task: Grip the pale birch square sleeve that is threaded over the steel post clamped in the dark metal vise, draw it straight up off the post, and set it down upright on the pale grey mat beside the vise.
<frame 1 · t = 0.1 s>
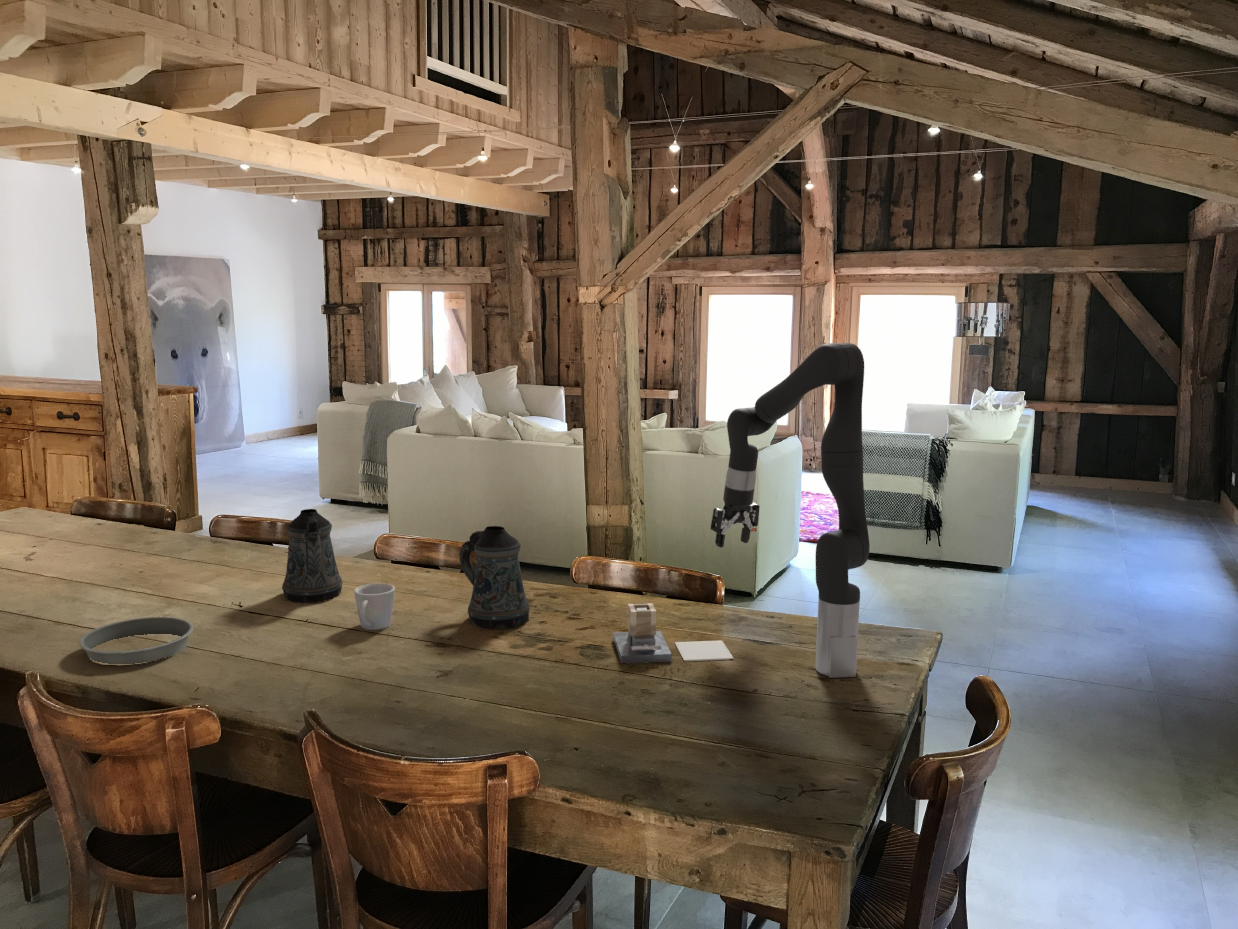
hand: (732, 544, 243), 22 cm above the table, tool pointing down, fingers open, 8 cm apart
mat: (703, 651, 229), on the table
sleeve: (641, 631, 228), point 5 cm above the table, touching vise
mug: (372, 629, 244), on the table
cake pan: (138, 651, 227), on the table
beer stein: (493, 620, 251), on the table
vise: (641, 650, 229), on the table
beer stein 2: (315, 596, 270), on the table
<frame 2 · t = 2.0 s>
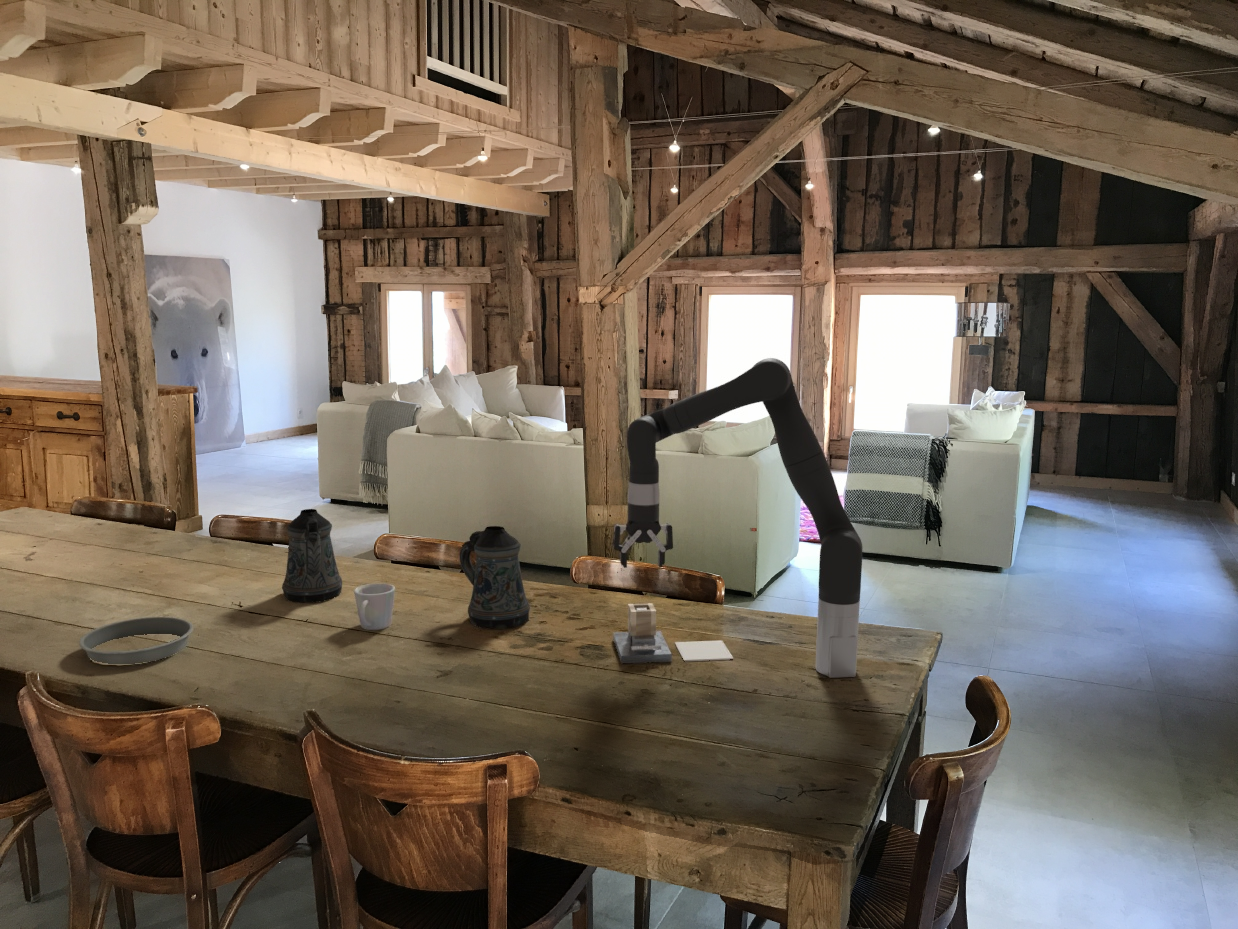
hand: (642, 566, 226), 21 cm above the table, tool pointing down, fingers open, 8 cm apart
nothing on the table moved.
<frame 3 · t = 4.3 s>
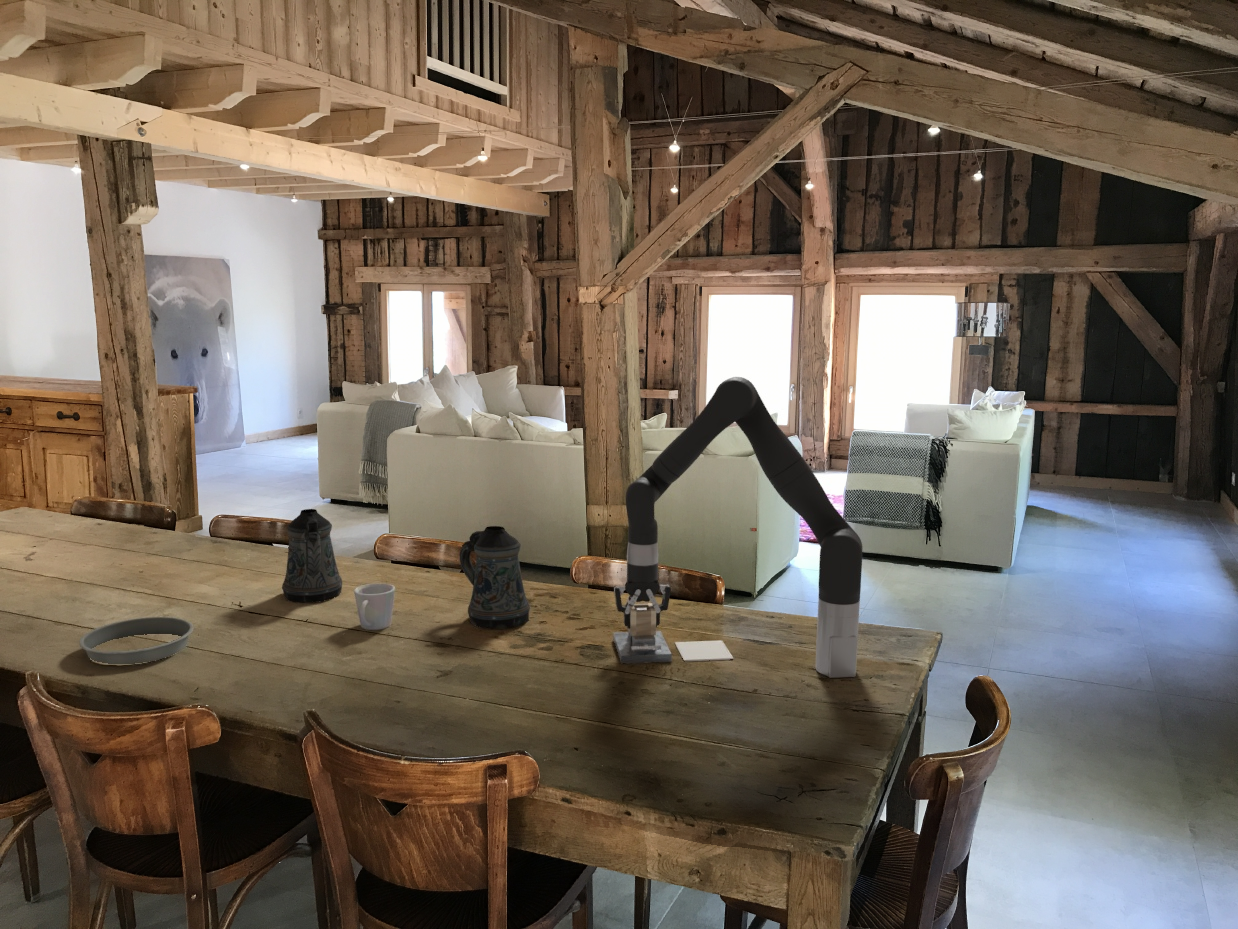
hand: (641, 626, 228), 6 cm above the table, tool pointing down, fingers closed on sleeve, 6 cm apart
sleeve: (641, 631, 228), point 5 cm above the table, touching gripper, vise
everything else where it was.
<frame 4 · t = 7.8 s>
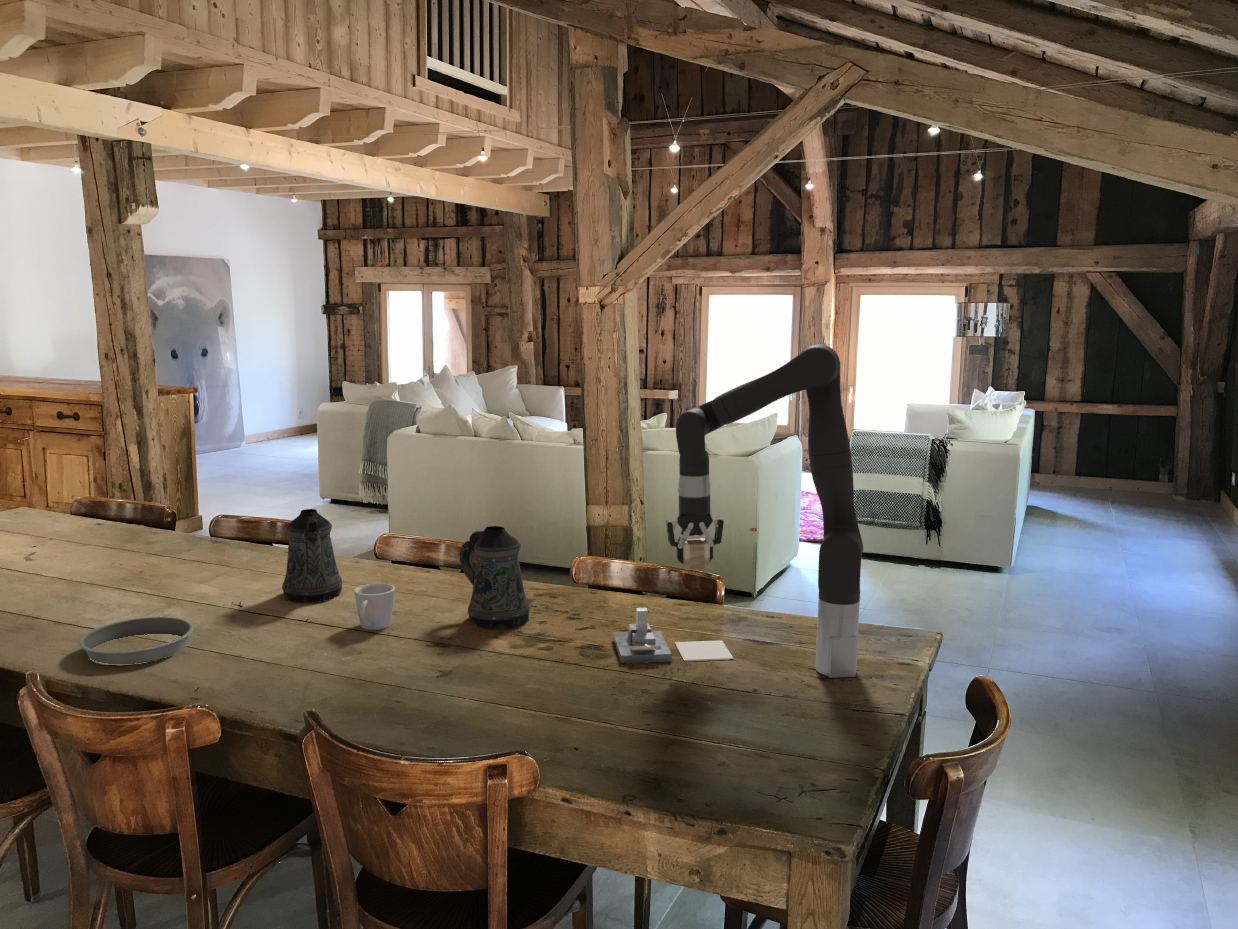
hand: (694, 561, 225), 23 cm above the table, tool pointing down, fingers closed on sleeve, 6 cm apart
sleeve: (694, 566, 225), point 22 cm above the table, touching gripper
everything else where it was.
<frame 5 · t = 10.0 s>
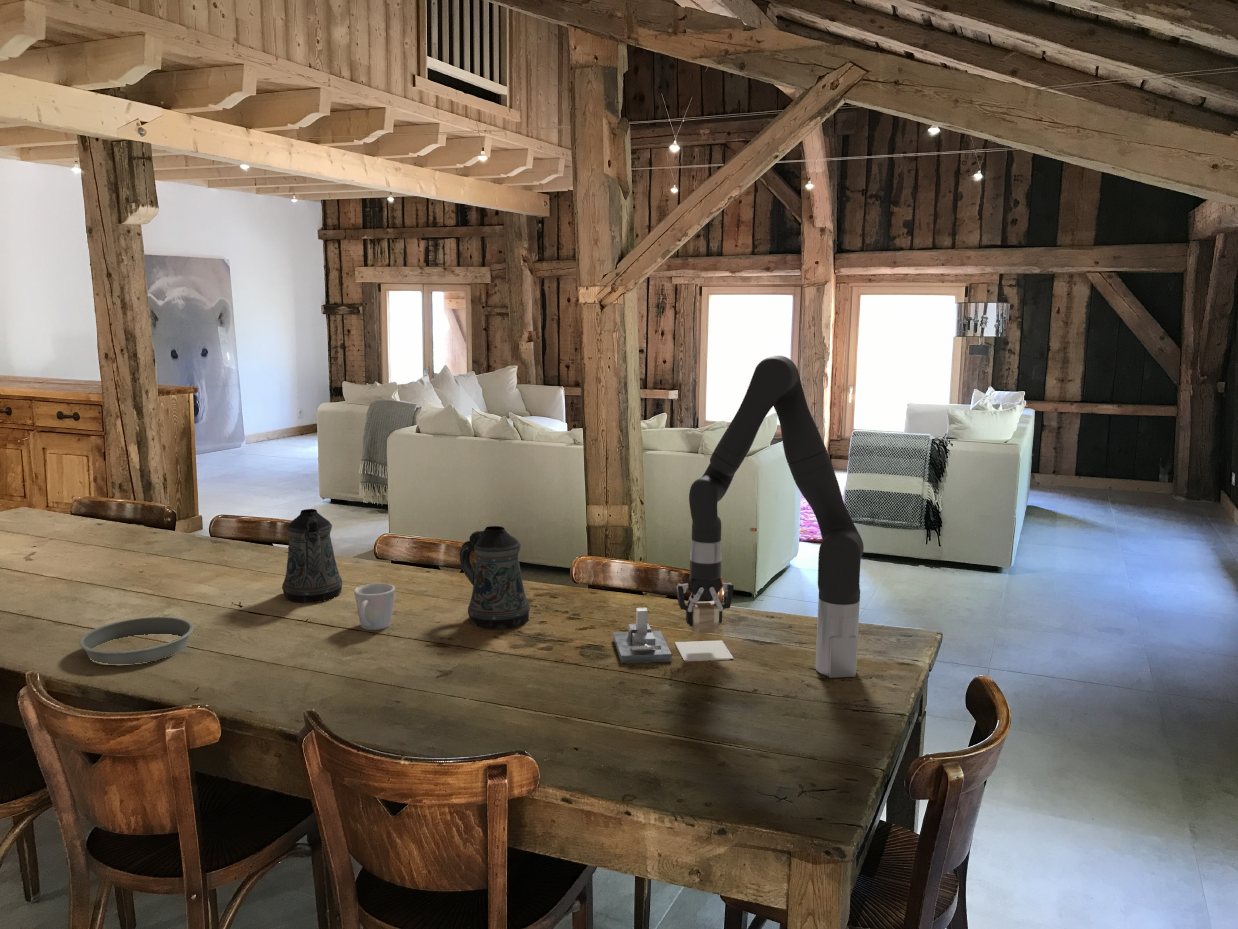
hand: (703, 624, 228), 7 cm above the table, tool pointing down, fingers closed on sleeve, 6 cm apart
sleeve: (703, 629, 228), point 6 cm above the table, touching gripper
everything else where it was.
when the fingers open (3 cm above the table, at t = 11.6 s): sleeve drops 2 cm, resting on mat.
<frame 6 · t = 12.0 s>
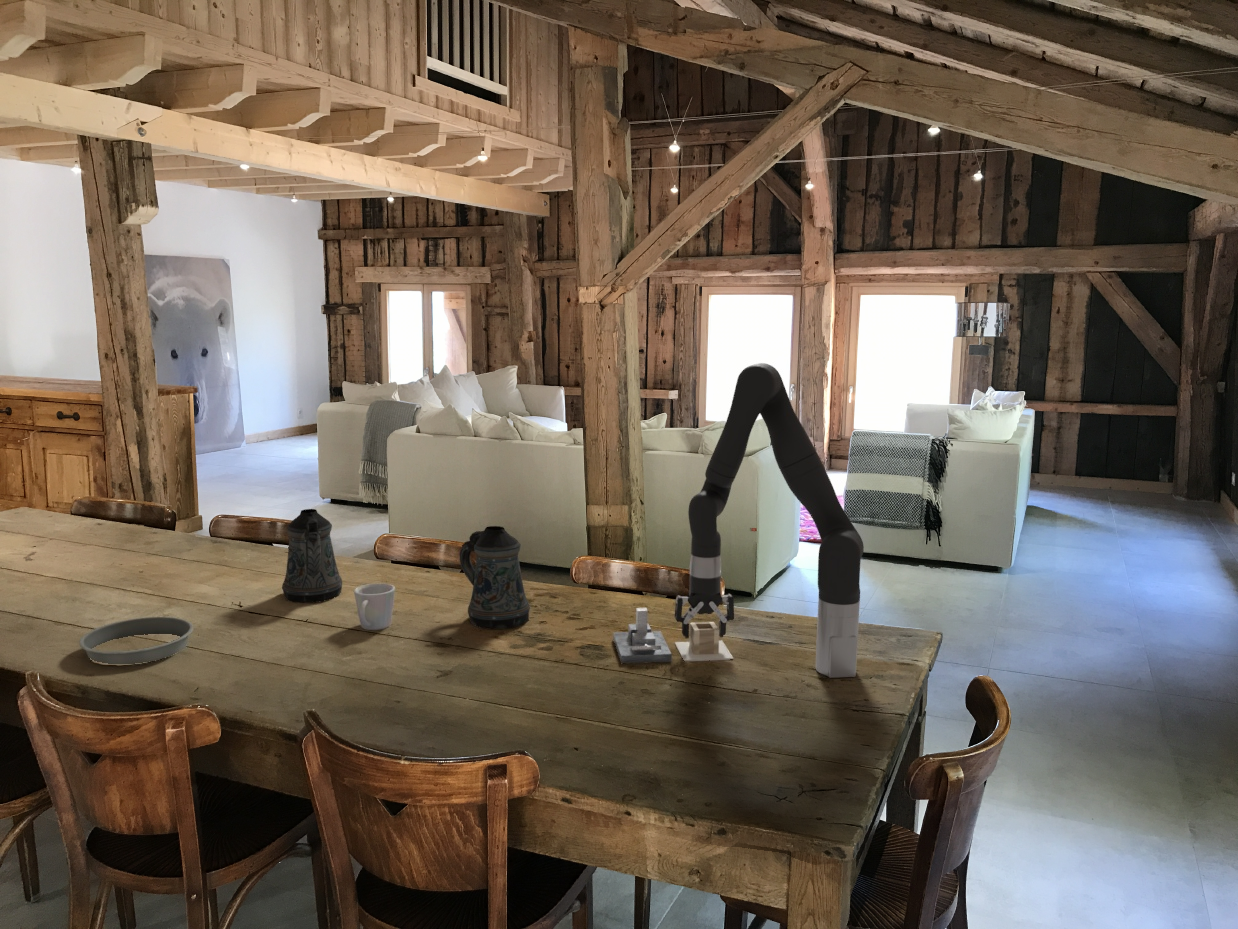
hand: (703, 637, 228), 4 cm above the table, tool pointing down, fingers open, 8 cm apart
sleeve: (703, 649, 229), resting on mat
everything else where it was.
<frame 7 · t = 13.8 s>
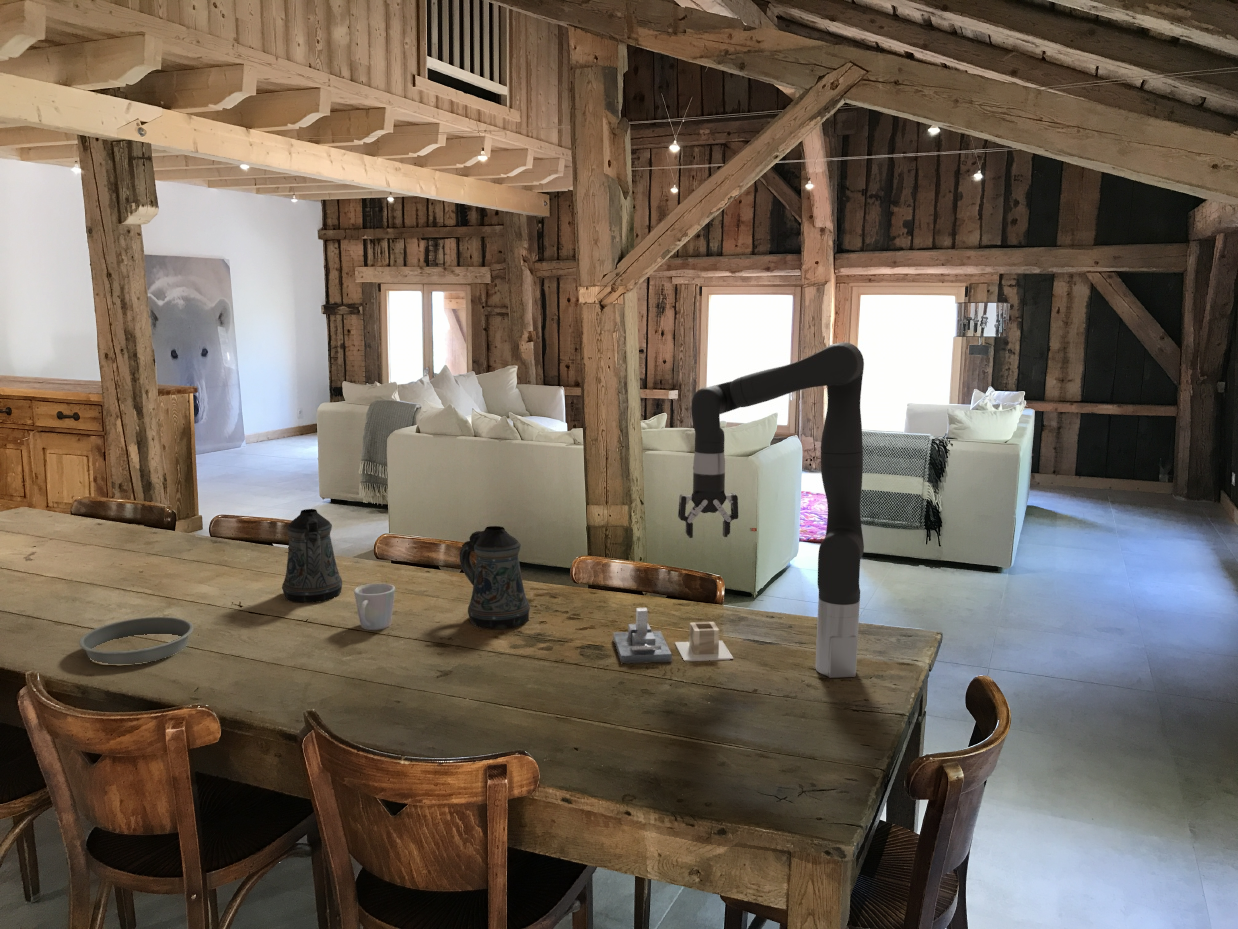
hand: (707, 536, 226), 28 cm above the table, tool pointing down, fingers open, 8 cm apart
nothing on the table moved.
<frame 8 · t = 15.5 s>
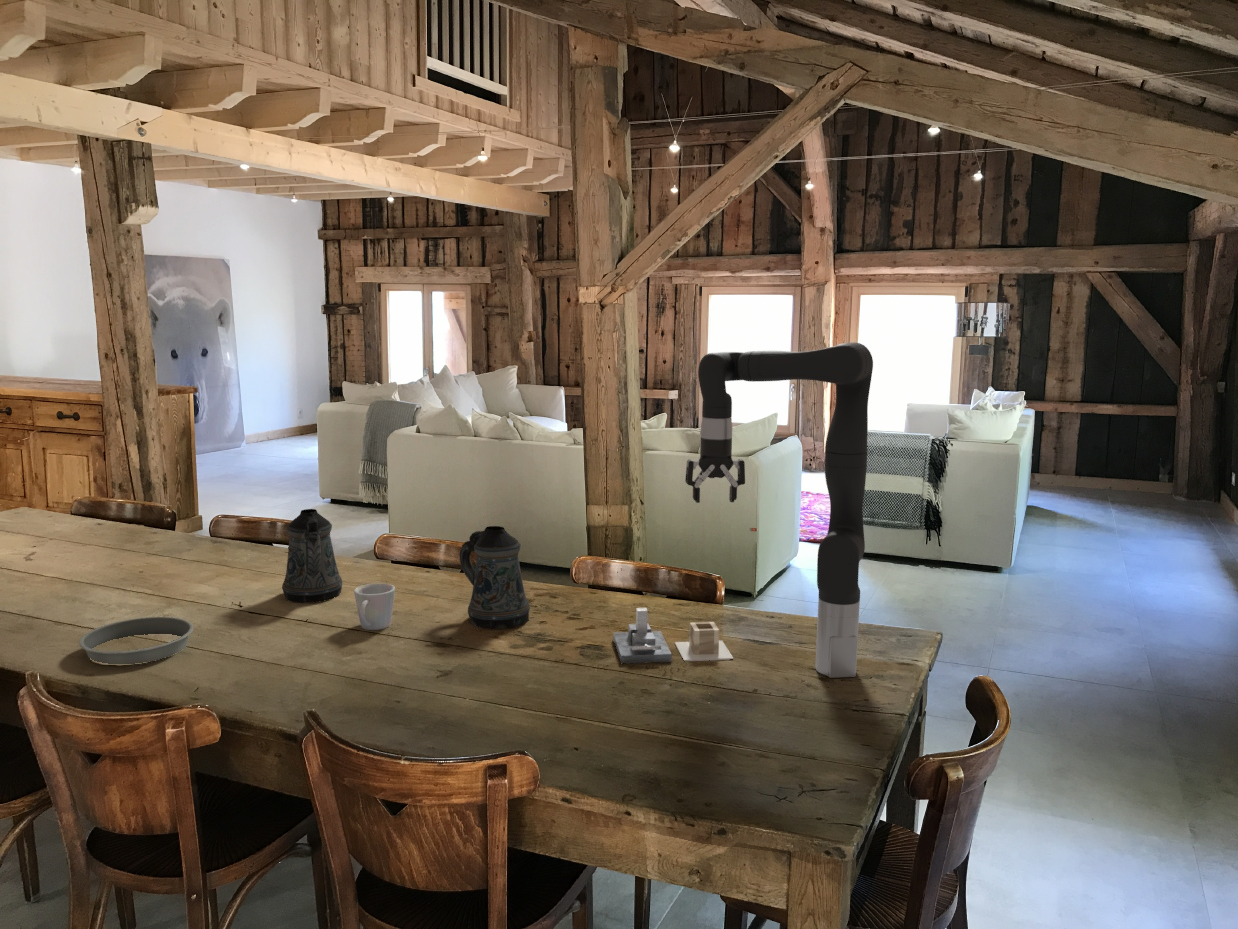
hand: (714, 502, 228), 36 cm above the table, tool pointing down, fingers open, 8 cm apart
nothing on the table moved.
at the end: sleeve inside the target area on the mat (0.1 cm from its centre), point 0.4 cm above the mat's base; sleeve touching mat; sleeve tilted 0° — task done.
